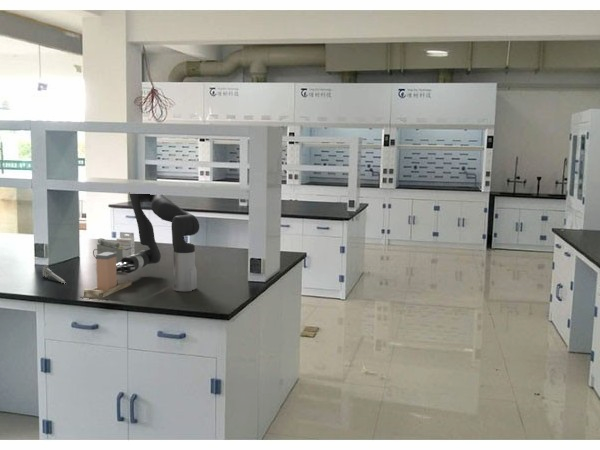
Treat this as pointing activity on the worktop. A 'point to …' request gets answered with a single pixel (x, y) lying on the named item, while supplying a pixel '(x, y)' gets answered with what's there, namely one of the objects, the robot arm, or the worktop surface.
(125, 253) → the ink cartridge box
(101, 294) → the chute
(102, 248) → the geiger counter
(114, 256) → the block
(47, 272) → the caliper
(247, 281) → the worktop surface
